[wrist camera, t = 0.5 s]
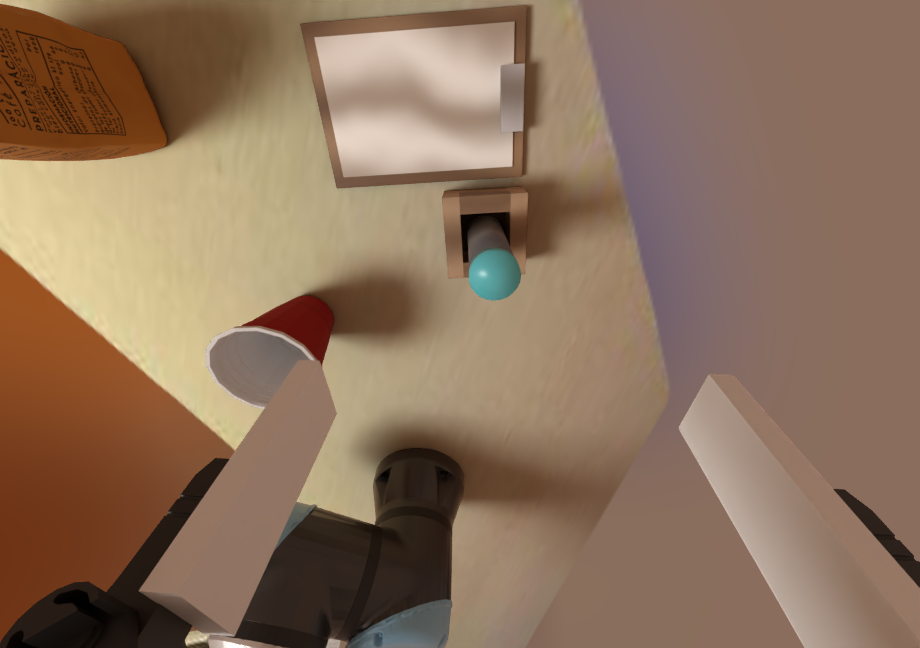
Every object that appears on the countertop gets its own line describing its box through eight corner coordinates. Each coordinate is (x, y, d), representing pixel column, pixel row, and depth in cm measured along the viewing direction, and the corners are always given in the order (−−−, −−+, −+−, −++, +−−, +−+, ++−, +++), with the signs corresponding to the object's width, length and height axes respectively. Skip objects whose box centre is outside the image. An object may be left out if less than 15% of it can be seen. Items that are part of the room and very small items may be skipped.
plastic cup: (292, 358, 46) (242, 424, 35) (251, 287, 41) (178, 339, 30) (367, 344, 45) (338, 408, 34) (335, 268, 39) (289, 316, 29)
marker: (500, 243, 38) (520, 299, 25) (467, 244, 38) (470, 301, 25) (500, 209, 36) (521, 250, 23) (465, 211, 36) (467, 253, 23)
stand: (518, 260, 39) (525, 274, 35) (449, 264, 39) (448, 278, 35) (520, 186, 35) (528, 192, 31) (444, 191, 35) (441, 197, 31)
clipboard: (520, 175, 34) (523, 177, 33) (338, 187, 35) (333, 190, 34) (525, 7, 28) (529, 0, 27) (303, 25, 29) (293, 19, 27)
